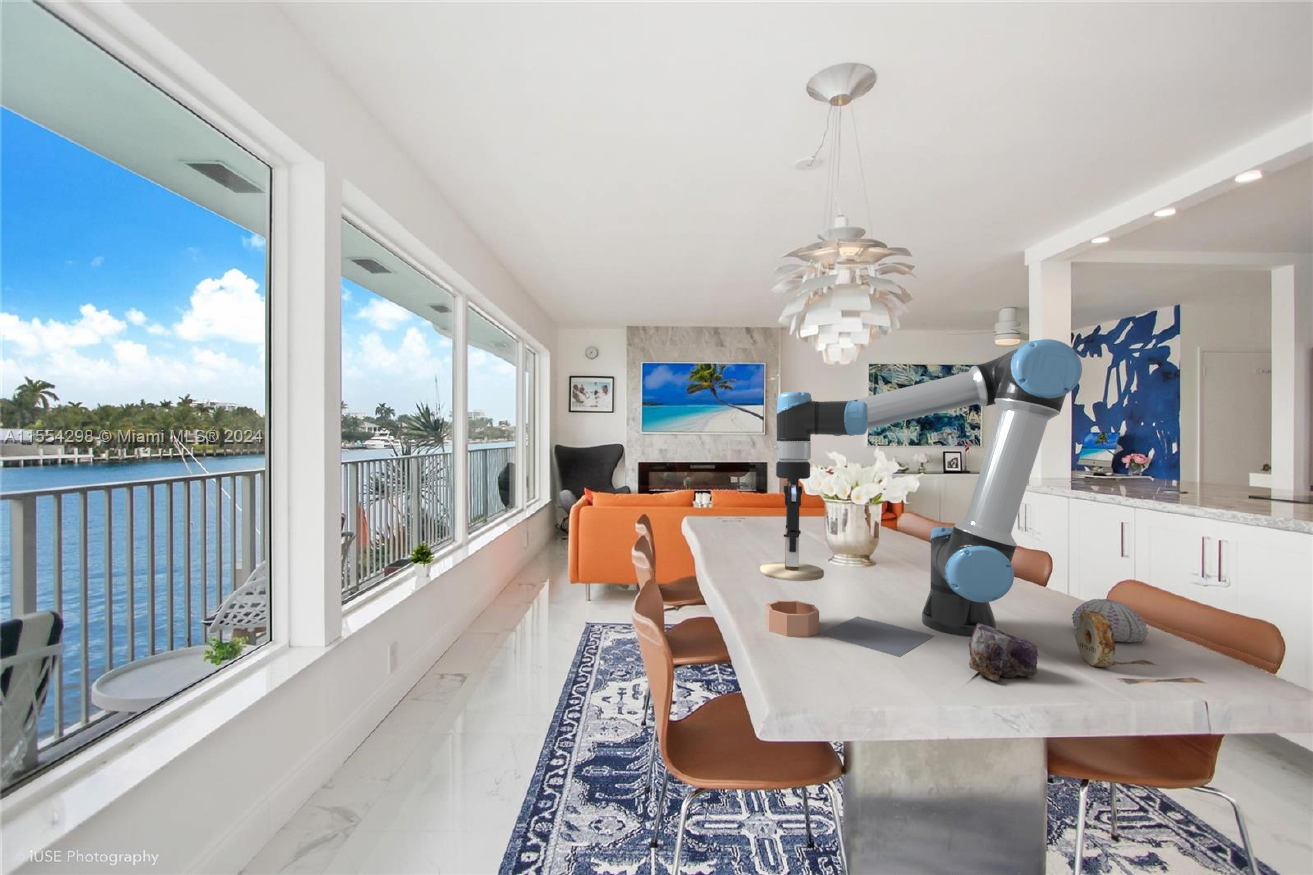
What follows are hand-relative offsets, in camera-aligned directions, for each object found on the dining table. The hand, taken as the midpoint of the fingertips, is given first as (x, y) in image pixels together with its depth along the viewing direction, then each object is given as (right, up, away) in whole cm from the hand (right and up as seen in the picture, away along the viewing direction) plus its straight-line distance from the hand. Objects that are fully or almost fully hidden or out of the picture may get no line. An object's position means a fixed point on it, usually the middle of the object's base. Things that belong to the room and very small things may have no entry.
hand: (791, 564), depth 129 cm
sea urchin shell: (+70, -16, -2) cm, 72 cm away
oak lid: (0, -2, 0) cm, 2 cm away
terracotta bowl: (0, -15, 0) cm, 15 cm away
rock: (+33, -15, -23) cm, 43 cm away
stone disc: (+55, -15, -18) cm, 60 cm away
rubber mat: (+18, -15, -4) cm, 23 cm away
